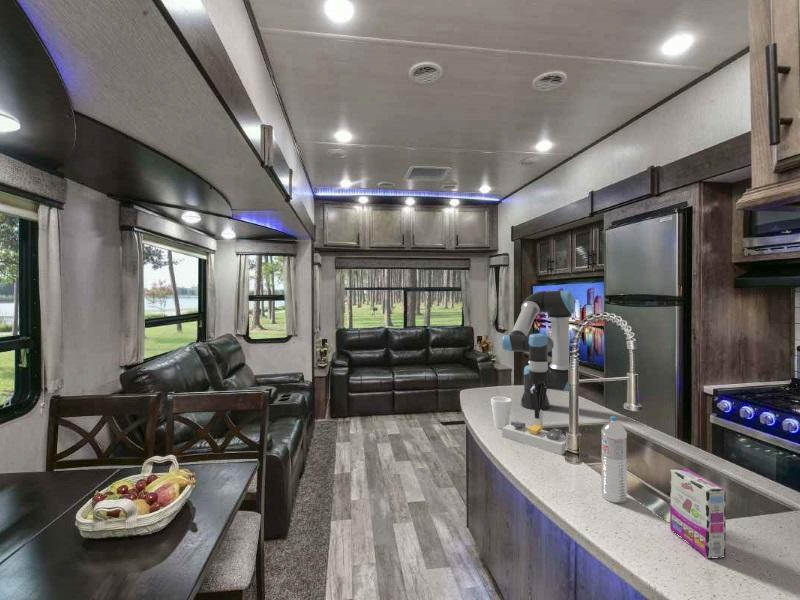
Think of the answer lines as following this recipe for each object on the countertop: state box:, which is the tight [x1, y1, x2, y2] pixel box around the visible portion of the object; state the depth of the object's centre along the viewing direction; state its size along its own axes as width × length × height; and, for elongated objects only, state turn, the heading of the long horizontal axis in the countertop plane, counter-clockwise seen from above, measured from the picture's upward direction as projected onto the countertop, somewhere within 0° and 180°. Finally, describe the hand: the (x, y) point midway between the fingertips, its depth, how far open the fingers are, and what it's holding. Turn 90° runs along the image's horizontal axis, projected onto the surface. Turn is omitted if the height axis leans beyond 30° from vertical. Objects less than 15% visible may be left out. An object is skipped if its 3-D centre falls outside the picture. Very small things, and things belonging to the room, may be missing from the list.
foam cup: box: [490, 396, 512, 430], centre depth 175 cm, size 10×9×13 cm
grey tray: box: [501, 423, 589, 458], centre depth 153 cm, size 10×34×5 cm, turn 43°
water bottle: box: [600, 415, 628, 504], centre depth 113 cm, size 7×7×25 cm
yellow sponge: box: [528, 423, 544, 434], centre depth 156 cm, size 6×4×2 cm, turn 133°
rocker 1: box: [510, 421, 526, 427], centre depth 162 cm, size 6×4×2 cm, turn 134°
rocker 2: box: [547, 427, 563, 440], centre depth 150 cm, size 6×4×2 cm, turn 133°
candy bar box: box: [669, 468, 727, 559], centre depth 92 cm, size 11×5×16 cm, turn 5°
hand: (538, 424), depth 158 cm, fingers closed, pressing on yellow sponge
